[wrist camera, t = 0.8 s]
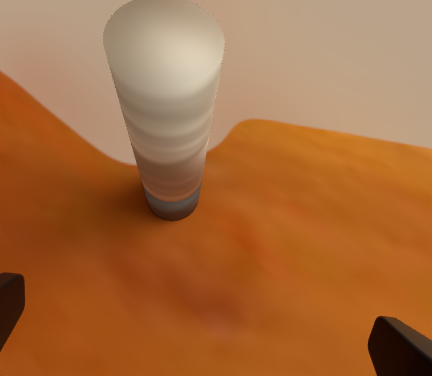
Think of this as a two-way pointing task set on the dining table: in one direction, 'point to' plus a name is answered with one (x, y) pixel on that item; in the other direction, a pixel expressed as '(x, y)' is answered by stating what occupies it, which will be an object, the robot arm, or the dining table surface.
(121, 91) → the white upright cylinder
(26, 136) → the dining table surface
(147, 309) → the dining table surface
